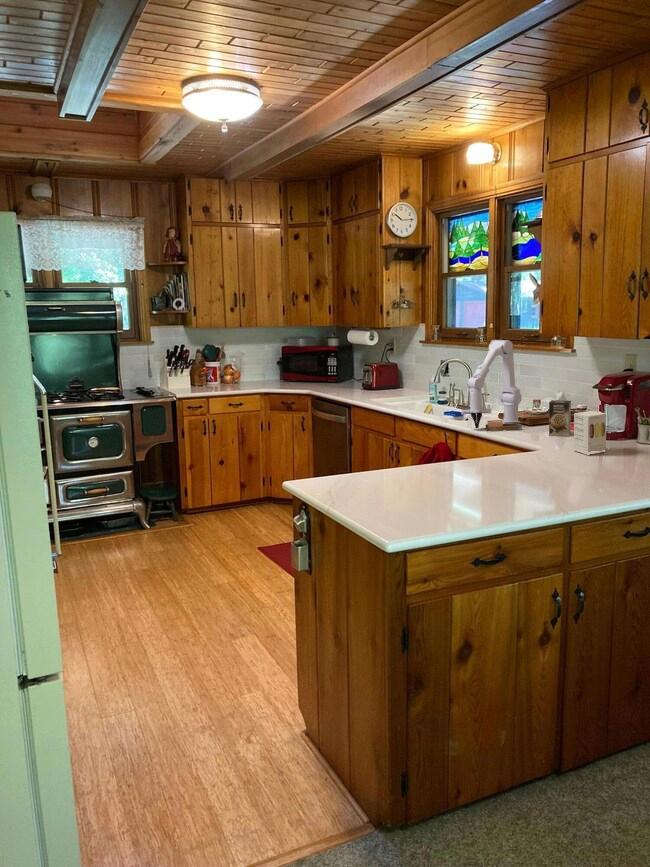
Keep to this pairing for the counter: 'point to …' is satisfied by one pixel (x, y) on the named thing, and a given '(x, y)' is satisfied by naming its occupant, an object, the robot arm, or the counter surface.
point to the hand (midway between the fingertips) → (476, 427)
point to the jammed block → (495, 423)
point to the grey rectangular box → (559, 418)
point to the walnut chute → (506, 427)
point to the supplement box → (590, 431)
